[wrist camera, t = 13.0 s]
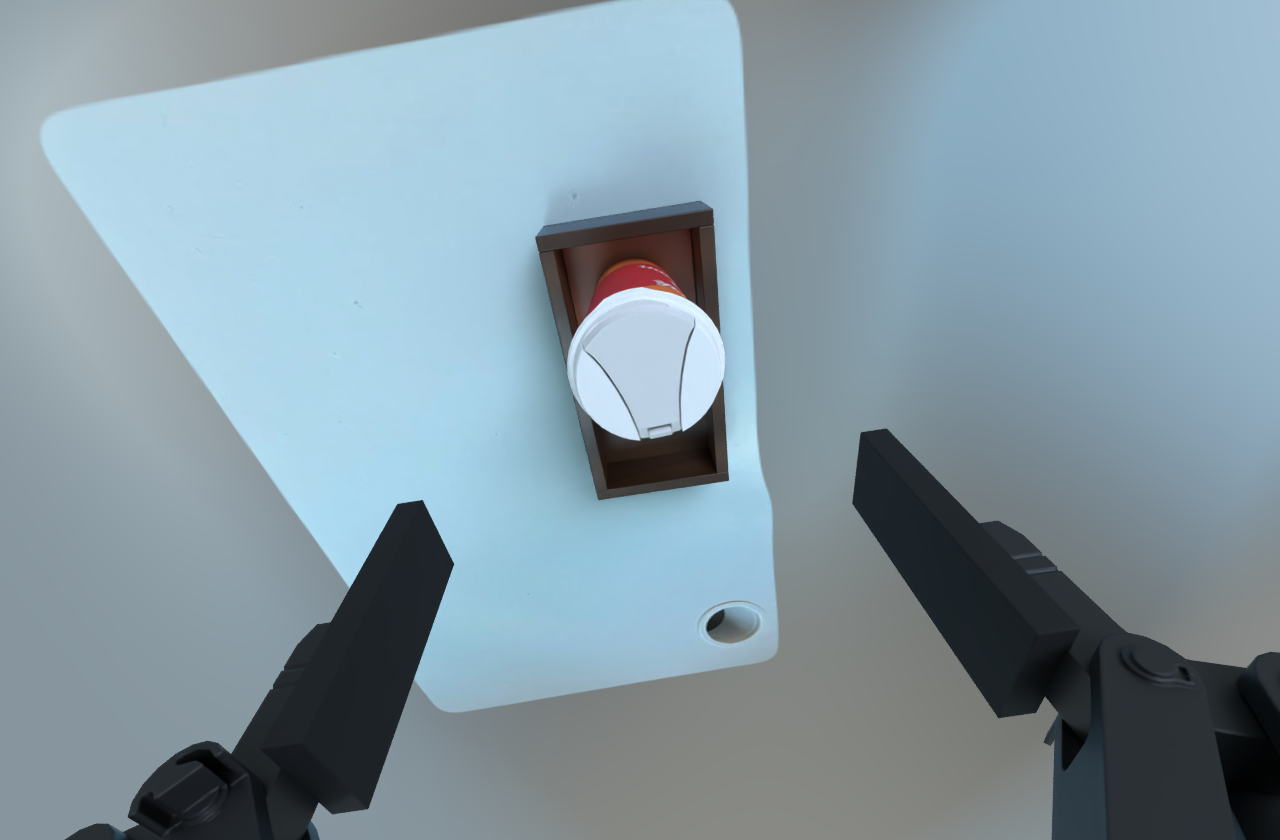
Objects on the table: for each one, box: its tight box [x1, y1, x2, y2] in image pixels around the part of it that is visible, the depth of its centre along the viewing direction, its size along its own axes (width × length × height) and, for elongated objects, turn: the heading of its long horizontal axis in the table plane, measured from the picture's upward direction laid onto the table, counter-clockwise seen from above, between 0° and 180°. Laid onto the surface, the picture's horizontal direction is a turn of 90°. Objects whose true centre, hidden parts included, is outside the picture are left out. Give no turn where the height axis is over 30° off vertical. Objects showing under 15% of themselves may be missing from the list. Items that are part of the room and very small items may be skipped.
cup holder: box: [535, 201, 729, 500], centre depth 38 cm, size 22×12×5 cm, turn 8°
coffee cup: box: [567, 257, 725, 441], centre depth 30 cm, size 8×8×15 cm
